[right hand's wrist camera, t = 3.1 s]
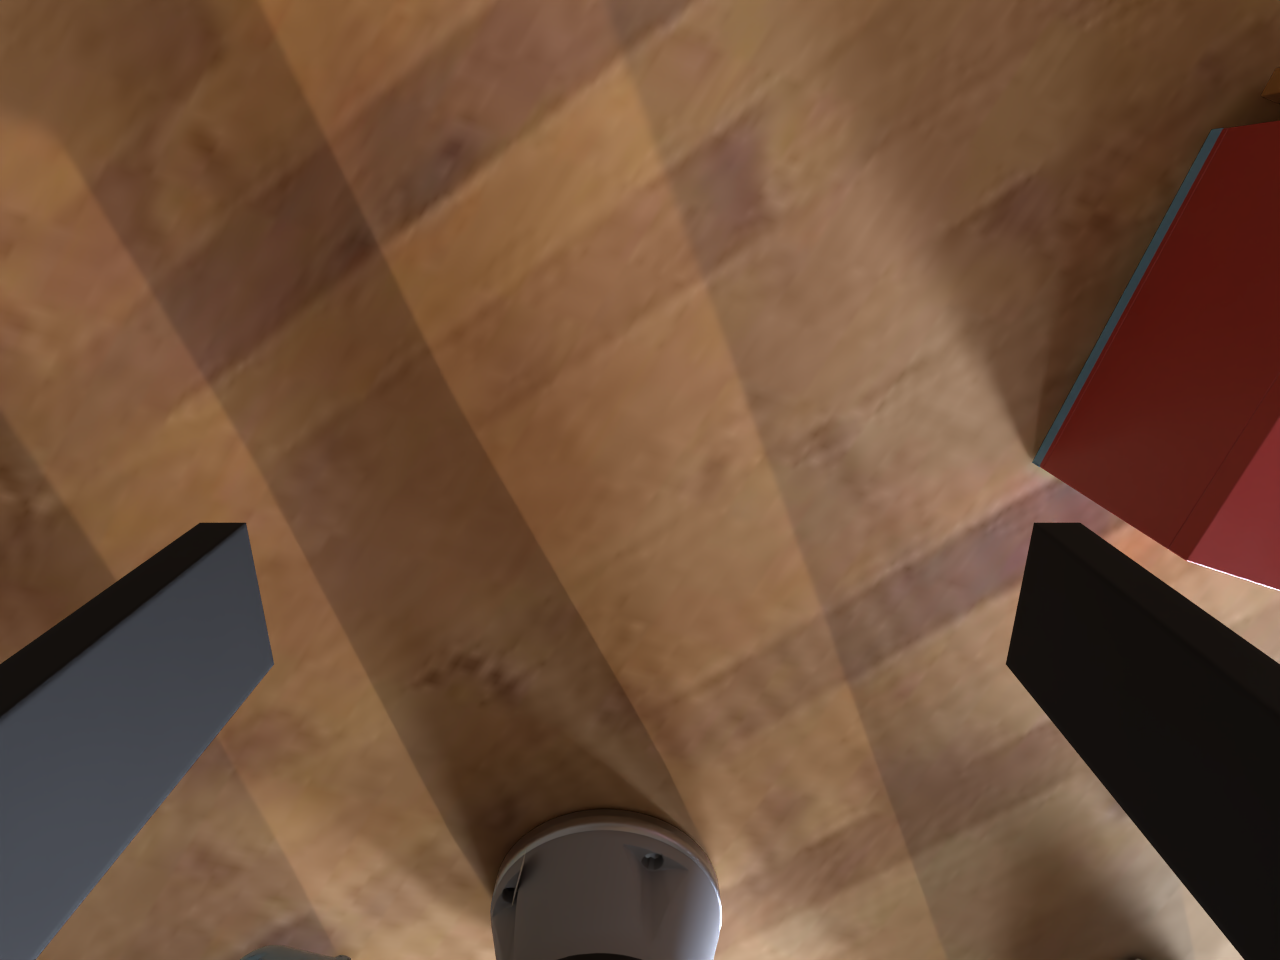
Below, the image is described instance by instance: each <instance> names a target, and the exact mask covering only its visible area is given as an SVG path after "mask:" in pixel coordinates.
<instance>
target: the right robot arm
mask: <svg viewBox="0 0 1280 960" xmlns="http://www.w3.org/2000/svg"><path fill="white" fill-rule="evenodd" d="M273 665H274V662H273V656H272V651H271V646H270V641H269V636H268V631H267V626H266V621H265V616H264V611H263V606H262V601H261V596H260V591H259V586H258V581H257V576H256V571H255V566H254V561H253V556H252V551H251V546H250V541H249V536H248V531H247V526H246V523H199V524H198V525H196V526H195V527H193V528H192V529H191V530H189V531H188V532H186V533H185V534H183V535H182V536H181V537H179V538H178V539H176V540H175V541H174V542H172V543H171V544H169V545H168V546H167V547H165V548H164V549H162V550H161V551H160V552H158V553H157V554H155V555H154V556H152V557H151V558H150V559H148V560H147V561H145V562H144V563H143V564H141V565H140V566H138V567H137V568H136V569H134V570H133V571H131V572H130V573H128V574H127V575H126V576H124V577H123V578H121V579H120V580H119V581H117V582H116V583H114V584H113V585H112V586H110V587H109V588H107V589H106V590H104V591H103V592H102V593H100V594H99V595H97V596H96V597H95V598H93V599H92V600H90V601H89V602H88V603H86V604H85V605H83V606H82V607H81V608H79V609H78V610H76V611H75V612H73V613H72V614H71V615H69V616H68V617H66V618H65V619H64V620H62V621H61V622H59V623H58V624H57V625H55V626H54V627H52V628H51V629H49V630H48V631H47V632H45V633H44V634H42V635H41V636H40V637H38V638H37V639H35V640H34V641H33V642H31V643H30V644H28V645H27V646H25V647H24V648H23V649H21V650H20V651H18V652H17V653H16V654H14V655H13V656H11V657H10V658H9V659H7V660H6V661H4V662H3V663H2V664H0V960H36V958H37V957H38V956H39V955H40V954H41V952H42V951H43V950H44V949H45V947H46V946H47V945H48V944H49V942H50V941H51V940H52V939H53V937H54V936H55V935H56V934H57V932H58V931H59V930H60V929H61V928H62V926H63V925H64V924H65V923H66V921H67V920H68V919H69V918H70V916H71V915H72V914H73V913H74V911H75V910H76V909H77V908H78V906H79V905H80V904H81V903H82V901H83V900H84V899H85V898H86V897H87V895H88V894H89V893H90V892H91V890H92V889H93V888H94V887H95V885H96V884H97V883H98V882H99V880H100V879H101V878H102V877H103V875H104V874H105V873H106V872H107V871H108V869H109V868H110V867H111V866H112V864H113V863H114V862H115V861H116V859H117V858H118V857H119V856H120V854H121V853H122V852H123V851H124V849H125V848H126V847H127V846H128V845H129V843H130V842H131V841H132V840H133V838H134V837H135V836H136V835H137V833H138V832H139V831H140V830H141V828H142V827H143V826H144V825H145V823H146V822H147V821H148V820H149V818H150V817H151V816H152V815H153V814H154V812H155V811H156V810H157V809H158V807H159V806H160V805H161V804H162V802H163V801H164V800H165V799H166V797H167V796H168V795H169V794H170V792H171V791H172V790H173V789H174V788H175V786H176V785H177V784H178V783H179V781H180V780H181V779H182V778H183V776H184V775H185V774H186V773H187V771H188V770H189V769H190V768H191V766H192V765H193V764H194V763H195V762H196V760H197V759H198V758H199V757H200V755H201V754H202V753H203V752H204V750H205V749H206V748H207V747H208V745H209V744H210V743H211V742H212V740H213V739H214V738H215V737H216V735H217V734H218V733H219V732H220V731H221V729H222V728H223V727H224V726H225V724H226V723H227V722H228V721H229V719H230V718H231V717H232V716H233V714H234V713H235V712H236V711H237V709H238V708H239V707H240V706H241V705H242V703H243V702H244V701H245V700H246V698H247V697H248V696H249V695H250V693H251V692H252V691H253V690H254V688H255V687H256V686H257V685H258V683H259V682H260V681H261V680H262V679H263V677H264V676H265V675H266V674H267V672H268V671H269V670H270V669H271V667H272V666H273ZM1006 665H1007V666H1008V667H1009V669H1010V670H1011V671H1012V672H1013V674H1014V675H1015V676H1016V677H1017V679H1018V680H1019V681H1020V682H1021V683H1022V685H1023V686H1024V687H1025V688H1026V690H1027V691H1028V692H1029V693H1030V695H1031V696H1032V697H1033V698H1034V700H1035V701H1036V702H1037V703H1038V705H1039V706H1040V707H1041V708H1042V709H1043V711H1044V712H1045V713H1046V714H1047V716H1048V717H1049V718H1050V719H1051V721H1052V722H1053V723H1054V724H1055V726H1056V727H1057V728H1058V729H1059V731H1060V732H1061V733H1062V734H1063V735H1064V737H1065V738H1066V739H1067V740H1068V742H1069V743H1070V744H1071V745H1072V747H1073V748H1074V749H1075V750H1076V752H1077V753H1078V754H1079V755H1080V757H1081V758H1082V759H1083V760H1084V762H1085V763H1086V764H1087V765H1088V766H1089V768H1090V769H1091V770H1092V771H1093V773H1094V774H1095V775H1096V776H1097V778H1098V779H1099V780H1100V781H1101V783H1102V784H1103V785H1104V786H1105V788H1106V789H1107V790H1108V791H1109V792H1110V794H1111V795H1112V796H1113V797H1114V799H1115V800H1116V801H1117V802H1118V804H1119V805H1120V806H1121V807H1122V809H1123V810H1124V811H1125V812H1126V814H1127V815H1128V816H1129V817H1130V818H1131V820H1132V821H1133V822H1134V823H1135V825H1136V826H1137V827H1138V828H1139V830H1140V831H1141V832H1142V833H1143V835H1144V836H1145V837H1146V838H1147V840H1148V841H1149V842H1150V843H1151V845H1152V846H1153V847H1154V848H1155V849H1156V851H1157V852H1158V853H1159V854H1160V856H1161V857H1162V858H1163V859H1164V861H1165V862H1166V863H1167V864H1168V866H1169V867H1170V868H1171V869H1172V871H1173V872H1174V873H1175V874H1176V875H1177V877H1178V878H1179V879H1180V880H1181V882H1182V883H1183V884H1184V885H1185V887H1186V888H1187V889H1188V890H1189V892H1190V893H1191V894H1192V895H1193V897H1194V898H1195V899H1196V900H1197V901H1198V903H1199V904H1200V905H1201V906H1202V908H1203V909H1204V910H1205V911H1206V913H1207V914H1208V915H1209V916H1210V918H1211V919H1212V920H1213V921H1214V923H1215V924H1216V925H1217V926H1218V928H1219V929H1220V930H1221V931H1222V932H1223V934H1224V935H1225V936H1226V937H1227V939H1228V940H1229V941H1230V942H1231V944H1232V945H1233V946H1234V947H1235V949H1236V950H1237V951H1238V952H1239V954H1240V955H1241V956H1242V957H1243V958H1244V960H1280V664H1278V663H1277V662H1276V661H1274V660H1273V659H1271V658H1270V657H1269V656H1267V655H1266V654H1264V653H1263V652H1262V651H1260V650H1259V649H1257V648H1256V647H1255V646H1253V645H1252V644H1250V643H1249V642H1247V641H1246V640H1245V639H1243V638H1242V637H1240V636H1239V635H1238V634H1236V633H1235V632H1233V631H1232V630H1231V629H1229V628H1228V627H1226V626H1225V625H1223V624H1222V623H1221V622H1219V621H1218V620H1216V619H1215V618H1214V617H1212V616H1211V615H1209V614H1208V613H1207V612H1205V611H1204V610H1202V609H1201V608H1199V607H1198V606H1197V605H1195V604H1194V603H1192V602H1191V601H1190V600H1188V599H1187V598H1185V597H1184V596H1183V595H1181V594H1180V593H1178V592H1177V591H1176V590H1174V589H1173V588H1171V587H1170V586H1168V585H1167V584H1166V583H1164V582H1163V581H1161V580H1160V579H1159V578H1157V577H1156V576H1154V575H1153V574H1152V573H1150V572H1149V571H1147V570H1146V569H1144V568H1143V567H1142V566H1140V565H1139V564H1137V563H1136V562H1135V561H1133V560H1132V559H1130V558H1129V557H1128V556H1126V555H1125V554H1123V553H1122V552H1120V551H1119V550H1118V549H1116V548H1115V547H1113V546H1112V545H1111V544H1109V543H1108V542H1106V541H1105V540H1104V539H1102V538H1101V537H1099V536H1098V535H1097V534H1095V533H1094V532H1092V531H1091V530H1089V529H1088V528H1087V527H1085V526H1084V525H1082V524H1081V523H1034V526H1033V531H1032V536H1031V541H1030V546H1029V551H1028V556H1027V561H1026V566H1025V571H1024V576H1023V581H1022V586H1021V591H1020V596H1019V601H1018V606H1017V611H1016V616H1015V621H1014V626H1013V631H1012V636H1011V641H1010V646H1009V651H1008V656H1007V662H1006ZM721 919H722V914H721V902H720V893H719V886H718V880H717V876H716V873H715V870H714V868H713V866H712V864H711V862H710V860H709V859H708V857H707V855H706V854H705V853H704V851H703V850H702V849H701V848H700V847H699V846H698V845H697V843H696V842H695V841H693V840H692V839H691V838H690V837H689V836H688V835H686V834H685V833H683V832H682V831H680V830H679V829H677V828H676V827H674V826H672V825H670V824H668V823H666V822H664V821H662V820H660V819H657V818H654V817H651V816H648V815H645V814H641V813H637V812H631V811H625V810H616V809H597V810H586V811H579V812H575V813H570V814H566V815H563V816H560V817H557V818H554V819H552V820H549V821H547V822H545V823H543V824H541V825H539V826H538V827H536V828H534V829H533V830H531V831H530V832H528V833H527V834H526V835H524V836H523V837H522V838H521V839H520V840H519V841H518V842H517V843H516V844H515V845H514V846H513V847H512V848H511V849H510V851H509V852H508V854H507V855H506V857H505V858H504V860H503V862H502V864H501V866H500V869H499V872H498V875H497V879H496V884H495V888H494V893H493V898H492V902H491V925H492V933H493V940H494V947H495V954H496V960H713V959H714V954H715V950H716V946H717V942H718V938H719V933H720V927H721ZM240 960H351V958H349V957H347V956H345V955H339V956H337V957H335V958H333V957H329V956H325V955H321V954H316V953H312V952H308V951H304V950H299V949H295V948H291V947H287V946H281V945H271V946H265V947H262V948H259V949H257V950H255V951H252V952H251V953H249V954H247V955H246V956H244V957H243V958H242V959H240Z"/></svg>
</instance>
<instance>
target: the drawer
mask: <svg viewBox="0 0 1280 960" xmlns="http://www.w3.org/2000/svg"><path fill="white" fill-rule="evenodd" d="M1261 96H1262V97H1264V98H1266V99H1269V100H1271V101H1274V102H1276V103H1278V104H1280V67H1279V68H1276V69H1275V71H1274V72H1273V74H1272V76H1271V78H1270V80H1269V81H1268V83H1267V85H1266V87H1265V89H1264V91H1263V92H1262V94H1261Z"/></svg>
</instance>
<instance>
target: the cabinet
mask: <svg viewBox="0 0 1280 960" xmlns="http://www.w3.org/2000/svg"><path fill="white" fill-rule="evenodd" d="M1032 463H1034V464H1035V465H1037V466H1039V467H1041V468H1042V469H1044V470H1046V471H1047V472H1049V473H1050V474H1052V475H1053V476H1055V477H1056V478H1058V479H1060V480H1061V481H1063V482H1064V483H1066V484H1067V485H1069V486H1070V487H1072V488H1074V489H1075V490H1077V491H1078V492H1080V493H1081V494H1083V495H1085V496H1086V497H1088V498H1089V499H1091V500H1092V501H1094V502H1095V503H1097V504H1099V505H1100V506H1102V507H1103V508H1105V509H1106V510H1108V511H1109V512H1111V513H1113V514H1114V515H1116V516H1117V517H1119V518H1120V519H1122V520H1124V521H1125V522H1127V523H1128V524H1130V525H1131V526H1133V527H1134V528H1136V529H1138V530H1139V531H1141V532H1142V533H1144V534H1145V535H1147V536H1148V537H1150V538H1152V539H1153V540H1155V541H1156V542H1158V543H1159V544H1161V545H1162V546H1164V547H1166V548H1167V549H1169V550H1170V551H1172V552H1173V553H1175V554H1177V555H1178V556H1180V557H1181V558H1183V559H1184V560H1186V561H1189V562H1192V563H1195V564H1198V565H1201V566H1204V567H1207V568H1210V569H1213V570H1217V571H1220V572H1223V573H1226V574H1229V575H1232V576H1235V577H1238V578H1241V579H1244V580H1248V581H1251V582H1254V583H1257V584H1260V585H1263V586H1266V587H1269V588H1272V589H1275V590H1278V591H1280V121H1273V122H1266V123H1259V124H1252V125H1244V126H1237V127H1230V128H1218V129H1212V130H1211V132H1210V133H1209V135H1208V137H1207V139H1206V141H1205V143H1204V145H1203V146H1202V148H1201V150H1200V152H1199V154H1198V156H1197V158H1196V159H1195V161H1194V163H1193V165H1192V167H1191V169H1190V171H1189V172H1188V174H1187V176H1186V178H1185V180H1184V182H1183V184H1182V185H1181V187H1180V189H1179V191H1178V193H1177V195H1176V197H1175V198H1174V200H1173V202H1172V204H1171V206H1170V208H1169V210H1168V211H1167V213H1166V215H1165V217H1164V219H1163V221H1162V223H1161V224H1160V226H1159V228H1158V230H1157V232H1156V234H1155V236H1154V237H1153V239H1152V241H1151V243H1150V245H1149V247H1148V249H1147V250H1146V252H1145V254H1144V256H1143V258H1142V260H1141V261H1140V263H1139V265H1138V267H1137V269H1136V271H1135V273H1134V274H1133V276H1132V278H1131V280H1130V282H1129V284H1128V286H1127V287H1126V289H1125V291H1124V293H1123V295H1122V297H1121V299H1120V300H1119V302H1118V304H1117V306H1116V308H1115V310H1114V312H1113V313H1112V315H1111V317H1110V319H1109V321H1108V323H1107V325H1106V326H1105V328H1104V330H1103V332H1102V334H1101V336H1100V338H1099V339H1098V341H1097V343H1096V345H1095V347H1094V349H1093V351H1092V352H1091V354H1090V356H1089V358H1088V360H1087V362H1086V364H1085V365H1084V367H1083V369H1082V371H1081V373H1080V375H1079V377H1078V378H1077V380H1076V382H1075V384H1074V386H1073V388H1072V390H1071V391H1070V393H1069V395H1068V397H1067V399H1066V401H1065V403H1064V404H1063V406H1062V408H1061V410H1060V412H1059V414H1058V416H1057V417H1056V419H1055V421H1054V423H1053V425H1052V427H1051V428H1050V430H1049V432H1048V434H1047V436H1046V438H1045V440H1044V441H1043V443H1042V445H1041V447H1040V449H1039V451H1038V453H1037V454H1036V456H1035V458H1034V460H1033V462H1032Z"/></svg>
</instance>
